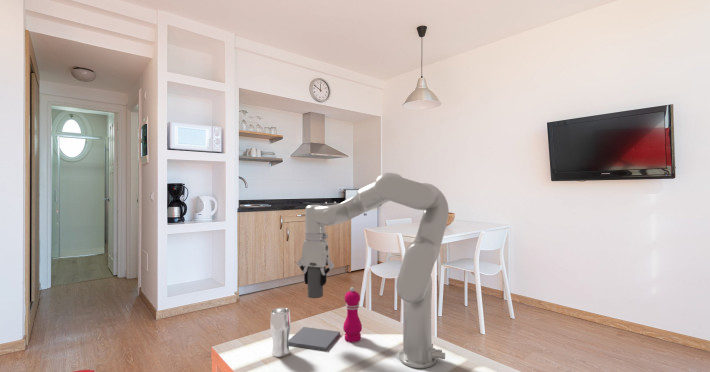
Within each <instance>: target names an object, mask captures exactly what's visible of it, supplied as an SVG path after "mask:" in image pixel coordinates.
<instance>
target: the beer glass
mask: <svg viewBox="0 0 710 372" xmlns="http://www.w3.org/2000/svg"><path fill="white" fill-rule="evenodd" d="M290 312H291V311H290V309H289V308H287V307H276V308H273V309H272V310H271V311H270V323H269V324H270V333H271V337H272V351H271V355H272V356H273V357H275V358H282V357H286V356H288V355H289V354H290V351H291V350H290V347H289V346H290V345H288V340H289V339H290V338H289V336H290V332H291V313H290Z"/></svg>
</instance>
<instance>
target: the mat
mask: <svg viewBox="0 0 710 372" xmlns="http://www.w3.org/2000/svg"><path fill="white" fill-rule="evenodd" d="M340 335H341V331H339V330H331V329H330V330H329V329H324V328H315V327H308V326H303V327H302V328H301V329H299V331H297V332H296V333H295V334H294V335H292V337H290V338H289V339H288V345H289V346H290V347H291V346H292V347H299V348H304V349H312V350H318V351H324V352H327V351H328V350H329V348H330V347H331V346H332V345H333V344H334V342H336V341H337V339H338V338H339V337H340Z"/></svg>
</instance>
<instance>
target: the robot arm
mask: <svg viewBox="0 0 710 372" xmlns="http://www.w3.org/2000/svg"><path fill="white" fill-rule="evenodd" d="M388 202H394V203H396V204H399V205H402V206H405V207H408V208H410V209H414V210H418V211H419V210H420V211H422V215H421V219H420V222H419V225H418V229H417V232H416V236H415V239H413V241H412V242H411V243H410V244H409V245H407V248H406V250H405V253H404V255H403V259H402V263H401V265H400V268H399V269H400V270H399V272H398V276H397V280H396V293H397V295H398V296H399V297H400V299H401V300H402V321H403V322H402V334H403V335H402V337H403V338H402V345H403V348H402V349H401V350H400V351H399V353H398V360H399V361H400V362H401V363H402V364H403V365H405V366H407V367H411V368H415V369H425V368H430V367H433V366H434V365H435V364H436V363H437V359H439V360H446V352H443V349H437V348H435V347H434V344H433V343H432V297H433V296H432V294H433V278H432V272H433V270H434V266H435V263H436V261H438V259H439V255H440V251H441V246H442V243H443V239H444V235H445V233H446V228H447V224H448V219H449V213H450V212H449V210H450V209H449V203H448V201H447V198H446V197H445V195H444V193H443V192H442V191H441V190H440V189H439V188H438V187H437V186H435V185H434V184H431V183H427V182H418V181H415V180H412V179H408V178H405V177H402V175H400V174H398V173H397V172H395V173H393V172H385V173H382V174H380V175H379V176H378V177H377V178H376V180H375V181H373V182H371V183H369V184H367V185H365V186H363V187H360V188H359V189H358V190H357V191H356V193H355V195H354V196H352V197H350V198H348V199H347V200H344V201H342V202H340V203H338V204H337V203H334V204H329V205H322V204H310V205H307V206H305V210H304V211H305V213H304V214H305V219H304V221H305V227H304V228H305V232H304V233H305V235H304V236H305V237H304V239H305V240H303V244H302V250H301V258H299V259H298V261H297V262H296V265H297V266H298V268H300V270H301V271H302V273H303V274H304V275H303V276H304V277H303V278H304V285H308V268H309V267H317V268H320V270H321V272H322V275H321V286H323V287H324V285H326V283H327V274H329V272H330V271H331V270H332V269H333V268H334V267H335V264H334V262H333V261H332V260H331V258H330V249H329V243H328V239H329V234H327V233H326V226H331V227H332V226H335V225H339V224H343V223H345V222H348V221H350V220H352V219H354V218H356V217H358V216H360V215H362V214H364V213H367V212H369V211H371V210H373V209H376V208H377V207H379V206H381V205H384V204H386V203H388ZM310 263H316V265H317V266H312V265H309V264H310ZM327 266H328V267H327Z"/></svg>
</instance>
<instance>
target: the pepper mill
mask: <svg viewBox="0 0 710 372" xmlns="http://www.w3.org/2000/svg"><path fill="white" fill-rule="evenodd" d="M360 300H361V296H360V293H359V292H358V291H356V290H355V288H354V287H353V286H351V287H350V289H349V291H347V292H346V293H345V295H344V302H345V309H346V310H347V311H346V312H347V313H346V318H345V320H344V323H343V327H342V329H343V332H344V340H345V341H346V342H348V343H358V342H359V341H361V339H362V337H361V336H362V335H361V332H362V330H363V326H362V321H361V319H360V317H359V312H358V310H359V308H360V306H359V305H360V304H359V302H360Z"/></svg>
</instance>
